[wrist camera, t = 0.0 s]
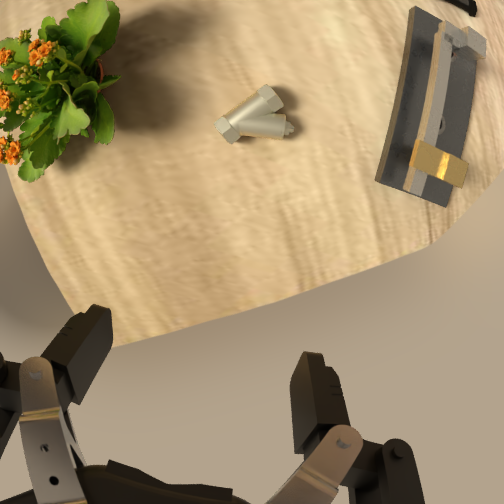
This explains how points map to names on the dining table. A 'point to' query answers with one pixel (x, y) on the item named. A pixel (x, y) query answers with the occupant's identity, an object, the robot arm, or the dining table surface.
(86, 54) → the potted flower
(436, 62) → the steel beam
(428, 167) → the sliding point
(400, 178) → the bolt hole plate
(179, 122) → the dining table surface
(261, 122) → the pipe fitting
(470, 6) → the electric trimmer
